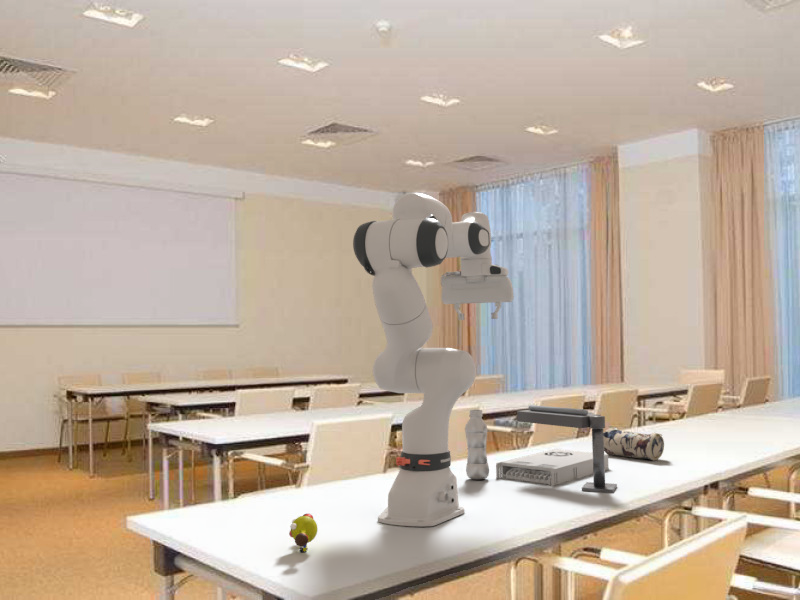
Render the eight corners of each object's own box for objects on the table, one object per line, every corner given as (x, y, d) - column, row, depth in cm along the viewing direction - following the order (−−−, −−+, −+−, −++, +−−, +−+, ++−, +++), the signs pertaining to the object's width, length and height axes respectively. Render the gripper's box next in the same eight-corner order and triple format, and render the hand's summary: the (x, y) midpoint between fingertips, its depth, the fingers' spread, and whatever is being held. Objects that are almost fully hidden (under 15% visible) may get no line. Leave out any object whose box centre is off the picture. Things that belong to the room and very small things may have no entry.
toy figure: (293, 539, 156) (293, 506, 157) (320, 538, 157) (319, 505, 157) (285, 565, 138) (284, 528, 139) (315, 564, 139) (314, 527, 139)
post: (612, 492, 195) (610, 431, 196) (581, 490, 198) (579, 430, 199) (616, 486, 202) (614, 427, 203) (586, 485, 205) (584, 426, 206)
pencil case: (598, 455, 256) (597, 426, 256) (614, 452, 261) (613, 424, 261) (653, 463, 238) (652, 432, 239) (669, 460, 243) (668, 430, 244)
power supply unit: (496, 480, 218) (495, 463, 219) (555, 464, 243) (554, 448, 243) (552, 488, 206) (551, 469, 206) (609, 470, 230) (608, 454, 230)
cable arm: (613, 427, 202) (612, 409, 202) (593, 429, 197) (593, 412, 197) (535, 419, 224) (535, 403, 224) (517, 421, 219) (516, 405, 220)
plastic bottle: (488, 481, 213) (486, 411, 214) (464, 481, 214) (463, 411, 215) (490, 477, 219) (488, 409, 220) (467, 477, 221) (465, 409, 222)
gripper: (438, 271, 211) (439, 320, 210) (510, 268, 205) (512, 318, 205) (443, 272, 217) (444, 320, 217) (513, 269, 211) (515, 318, 211)
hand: (477, 319), depth 211 cm, fingers open, 8 cm apart
